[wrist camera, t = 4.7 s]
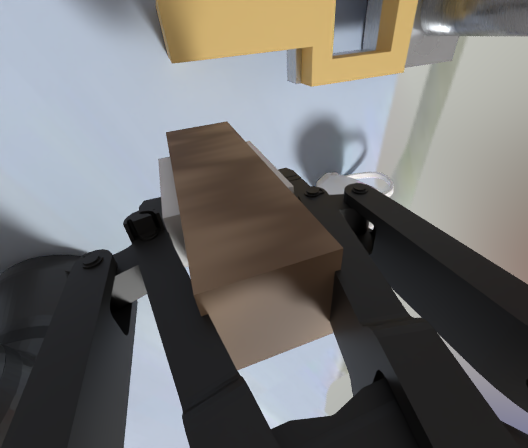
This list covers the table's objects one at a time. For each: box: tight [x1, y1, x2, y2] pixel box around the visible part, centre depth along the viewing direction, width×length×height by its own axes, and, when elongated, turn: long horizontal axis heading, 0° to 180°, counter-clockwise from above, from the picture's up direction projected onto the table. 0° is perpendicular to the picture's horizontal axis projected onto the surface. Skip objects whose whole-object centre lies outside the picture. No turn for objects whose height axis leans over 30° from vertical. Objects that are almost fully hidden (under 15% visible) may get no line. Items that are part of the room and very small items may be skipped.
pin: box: [166, 122, 343, 370], centre depth 13 cm, size 4×4×14 cm
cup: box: [316, 172, 393, 229], centre depth 36 cm, size 7×10×8 cm
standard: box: [287, 0, 528, 84], centre depth 20 cm, size 18×9×18 cm, turn 94°
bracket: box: [156, 0, 418, 86], centre depth 22 cm, size 20×9×8 cm, turn 94°
